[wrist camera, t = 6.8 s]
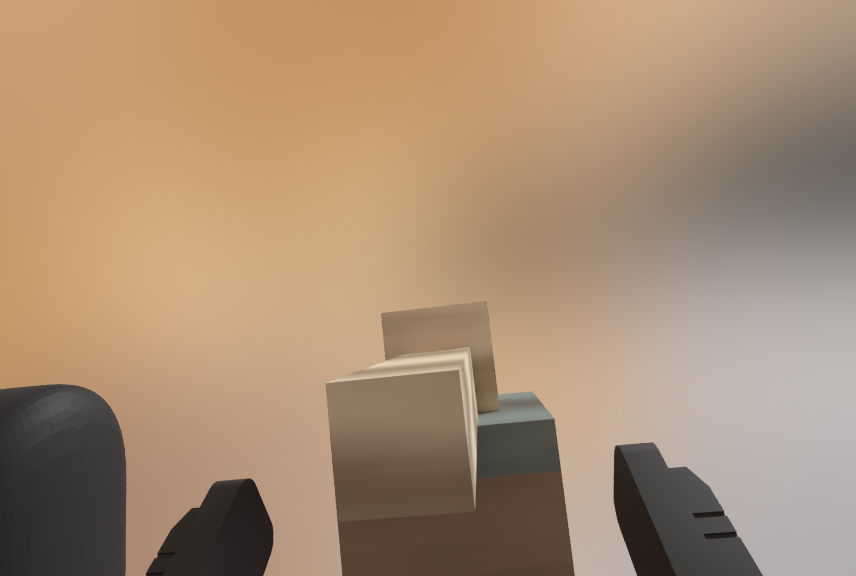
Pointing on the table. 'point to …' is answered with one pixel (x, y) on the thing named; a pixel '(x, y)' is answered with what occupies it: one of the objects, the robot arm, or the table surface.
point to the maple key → (414, 416)
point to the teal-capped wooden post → (481, 511)
